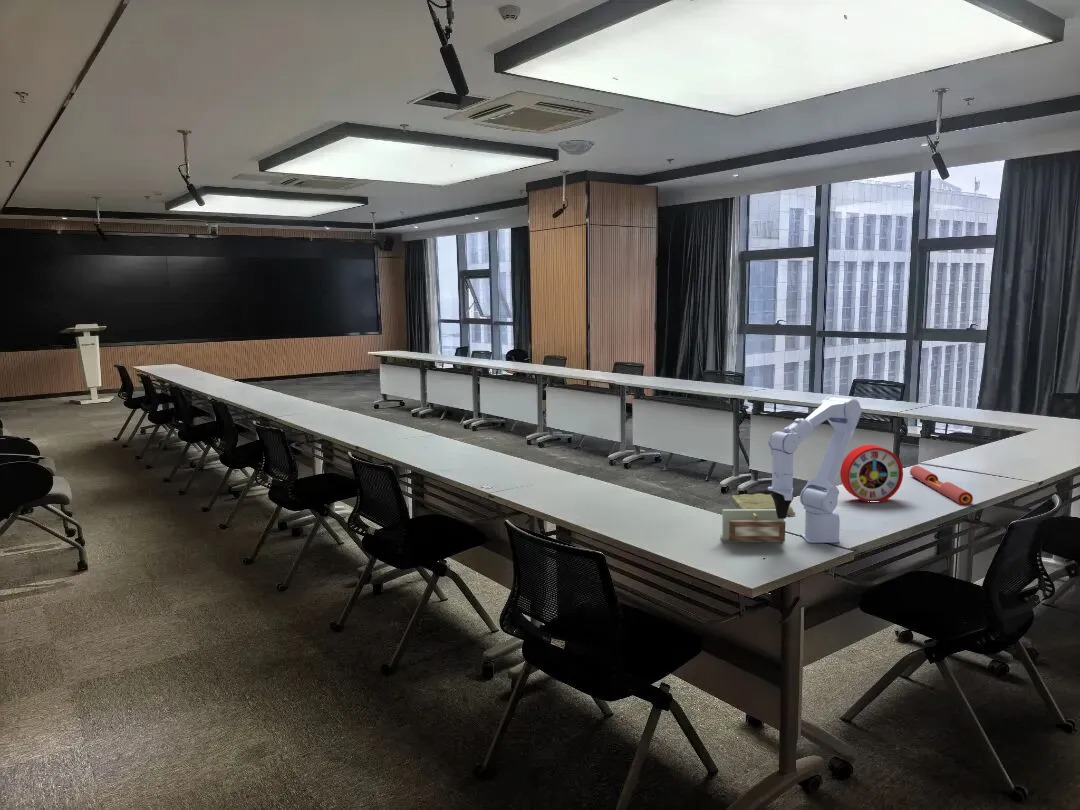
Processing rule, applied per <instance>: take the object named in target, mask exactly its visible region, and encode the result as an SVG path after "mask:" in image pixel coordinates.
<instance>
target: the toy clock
mask: <svg viewBox="0 0 1080 810" xmlns="http://www.w3.org/2000/svg"><path fill="white" fill-rule="evenodd" d="M839 472H840V473H839V474H840V475H839V476H840V481H841V483H842V486H843V487H844V489H845V490H846V491H847V492H848V493H849V494H850V495H852V496H853V497H855V498H857V499H858V500H860V501H863V502H866V503H869V502H870V501H882V502H885V501H886V500H887V501H888V500H889V499H890V498H892V497H893V496H894V495H895V494H896V493H897V492H898V490H899V489H900V487H901V485H902V482H903V478H904V469H903V465H902V463H901V460H900V459H899V457H898V456H897V455H896V454H895V453H893V452H892V451H891V450H889V449H886V448H883V447H881V446H878V445H875V444H864V445H863V444H862V445H860V446H857V447H855V448H854V449H852V450H851V451H850V452H849V453H847V455H845V457H844V459H843V462H842V465H841V467H840V470H839ZM868 501H869V502H868Z"/></svg>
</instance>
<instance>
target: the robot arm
mask: <svg viewBox="0 0 1080 810" xmlns="http://www.w3.org/2000/svg"><path fill="white" fill-rule="evenodd" d="M862 412H863V411H862V407H861V404H860V402H859V400H858V399H855V398H843V397H835V396H830V395H829V396H827V397H825V399H823V400H821V403H820V406H818V407H817V408H816V409H815V410H814V411H812V412H811V413H810V414H809V415H808V416H807V417H805V418H798V417H797V418H796V419H794V421H793V422H792V423H791V424H789V425H788V426H785V427H784V428H783V429H782V430H781V431H775V432H773V433H772V434H770V436H769V440H767V444H768V448H769V449H770V455H771V457H772V460H771V461H772V462H771V463H772V465H771V468H772V469H771V471H772V473H771V475H772V476H771V486H768V487H767V490H768V491H770V492H772V493H770V494H771V496H772V498H773V500H774V503H775V508H776V513H777V517H778V518H779V519H784V520H785V519H787V517H788V516H787V512H788V508H789V506H791V503H792V502H793V500H794V496H793V493H794V487H793V483H794V477H793V476H794V453H795V452H796V451H797V449H798V447H799V445H800V444H801V442H802V441H804V440H806V438H808V437H809V436H811V435H812V434H813V429H814V428H815V427H817V426H819V425H821V424H822V423H824V422H825V421H828V423H829V424H830V426H832V428H833V430H834V431H833V433H832V436H831V439H830V440H829V443H828V446H827V448H826V451H825V454H824V456H823V458H822V461H821V464H820V466H819V469H818V472H817V474H816V476H815V477H814V478H811V479H810V480H807V482H806V485H805V486H804V488H802V490H801V491H800V495H799V501H800V503H801V505H802V506H803V509H804V510H805V517H804V518H805V519H804V520H805V522H804V523H805V525H804V532H801V533H800V535H801V537H802V538H803V539H804V540H805V541H806V542H807V543H809V544H810V543H813V544H815V543H816V544H818V543H822V544H823V543H830V544H832V543H841V541H840V523H841V522H840V514H839V512H838V511H837V510H835V509H836V508H837V507H838V498H839V495H840V491H839V488H838V487H837V486H836V484H835V482H836V479H837V477H838V475H839V472H840V470H841V466H842V463H843V461H844V459H845V457H846V454H847V452H848V449H849V446H850V443H851V441H852V438H853V436H854V433H855V430H856V427H857V425H858V423H859V420H860V419H861V415H862Z"/></svg>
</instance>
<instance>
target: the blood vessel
mask: <svg viewBox="0 0 1080 810" xmlns="http://www.w3.org/2000/svg"><path fill="white" fill-rule="evenodd" d="M909 474H910V476H911V475H912V476H914V477H915V478H917V479H918V480H917V479H916V480H917V481H919V480H920V481H919V482H921V483H922V482H923V483H922V484H924V483H925V484H924V485H926V486H928V487H929V486H930V487H929V488H931V489H933V490H935V491H936V490H937V491H936V492H939V493H940V494H941V493H942V494H941V495H943V496H945V497H947V498H948V497H949V498H948V499H951V500H952V501H954V502H956V503H957V504H959V505H961V506H969V505H971V504H972V503H973V500H974V497H973V495H972V493H971V492H969V491H967V490H965V489H963V488H962V487H959V486H957V485H955V484H953V483H952V482H949V481H945V482H942V481H940V480H939V477H938V476H937V475H936V474H935V473H933V472H930V470H927V469H925V468H923V467H922V466H919V465H914V466H912V467H911V468H910V470H909ZM912 476H911V477H912ZM914 477H913V478H914ZM915 478H914V479H915Z"/></svg>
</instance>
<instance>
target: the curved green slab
mask: <svg viewBox="0 0 1080 810" xmlns="http://www.w3.org/2000/svg"><path fill="white" fill-rule="evenodd" d="M721 520H722V522H721V523H722V525H721V526H722V527H721V528H722V531H721V532H722V533H721V534H720V540H721V541H722V542H721V543H755V542H754V541H729V520H781V521H785V519H779V518H778V517H777V513H776V509H738V508H737V509H736V508H735V509H733V508H731V509H728V508H727V509H723V508H722V519H721Z"/></svg>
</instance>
